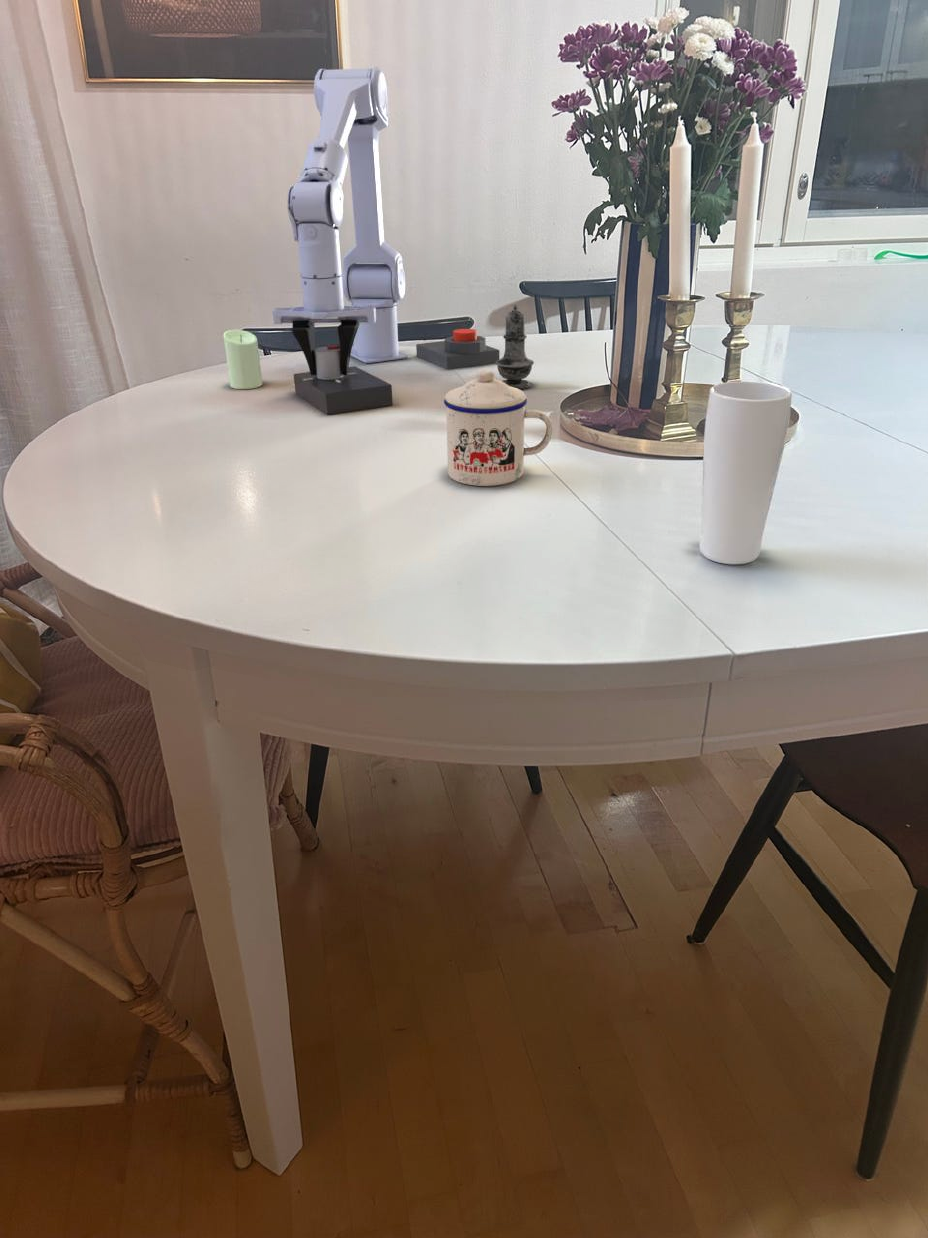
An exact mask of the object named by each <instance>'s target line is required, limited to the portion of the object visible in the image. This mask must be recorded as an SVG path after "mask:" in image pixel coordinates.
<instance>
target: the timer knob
mask: <svg viewBox="0 0 928 1238" xmlns="http://www.w3.org/2000/svg"><path fill="white" fill-rule="evenodd" d="M314 356H315V367H316V377H317V378H318V379H321V380H334V379H340V378H342V377H343V376H344V375H342V371H341V349H340V344H338V345H330V346H321V347H320V346H319V347H315V349H314Z"/></svg>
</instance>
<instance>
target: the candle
mask: <svg viewBox="0 0 928 1238" xmlns="http://www.w3.org/2000/svg"><path fill="white" fill-rule="evenodd" d="M222 335H223V344H224V350H225V351H224V352H225V358H226V366H227V373H228V381H229V387H231V389H234V390H252V389H256V388H260V387H261V386H262V385H263V378H262V367H261V361H260V359H261V358H260V351H259V343H258V338H257V335H255V334H254V333H252V332H250V331H247V330H241V329H229V330H226V331H224V333H223V334H222Z"/></svg>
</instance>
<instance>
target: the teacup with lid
mask: <svg viewBox="0 0 928 1238" xmlns="http://www.w3.org/2000/svg"><path fill="white" fill-rule="evenodd" d="M495 375H496V374H495V372H494V371H493V370H492V369H480V370H478V371H477V372H476V373H475V379H472V380H468V381H467V382H466V383H464V384H463V385H462V386H459V387H455V388H453V389H450V390H449V391H448V392H447V393H446V394H445V396H444V399H443V404H444V406H445V407H446V409H445V411H446V412H445V413H446V453H447V454H446V455H447V456H446V457H447V474H448V476H449V477H450V478H451V479H452V480H454V482H455V481H456V482H457V483H460V484H464V485H469V486H475V487H476V486H478V487H494V486H502V485H506V484H511V483H512V482H515V481H517V480H519V479H521V477H522V476H523V474H524V462H525V461H524V459H525V458H524V457H525V456H533V455H537V454H539V453H541V452H542V451H544V450H545V449H546V448H547V446H548V445H549V443H550V442H551V439H552V436H553V429H554V428H553V427H554V426H553V422H552V420H551V418H550V417H549V416H548V415H547V414H546V413H545V412H543V411H541V410H535V409H529V410H528V409H526V410H525V406H526V405H527V403H528V400H527V396H526V393H524V391H523V390H522V389H521V390H519V389H517V388H514V387H511V386H508V385H507V384H505V383H504V382H502V381H503V380H500V379H496V378H495ZM525 419H539V420H541V421H542V422H543V423H544V424H545V426H546V431H545V434H544V435H543V438H542V440H541V441H540V442H539V443H538V444H536V445H534V446H530V447H525Z"/></svg>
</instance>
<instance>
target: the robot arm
mask: <svg viewBox="0 0 928 1238" xmlns="http://www.w3.org/2000/svg"><path fill="white" fill-rule="evenodd" d="M313 81H314V82H313V94H314V101H315V105H316V108H317V110H318V112H319V115H320V123H319V124H320V125H319V129H318V130H319V131H318V137H317V138H316V139H314V140H313V141H311V142H310V144H309V145H308V147H307V151H306V154H305V157H304V162H303V165H302V168H301V173H300V176H299V181H296V182H295V183H294V184H293V185H291V186H290V187H289V189H288V191H287V214H288V218H289V221H290V224H291V228H292V235H293V239H294V241H295V242H296V243H297V247H298V248H297V250H298V259H299V260H298V261H299V270H300V282H301V290H302V291H301V292H302V303H303V304H302V305H303V306H293V307H291V306H290V307H275V308H274V309H273V310H272V317H273V319H272V320H273V325H282V324H292V328H291V332H292V335H293V337H294V338H295V339H296V341H297V344H298V345H299V346H300V348H301V350H302V353H303V355H304V358H305V360H306V364H307V367H308V369H309V372H310V374H311V375H316V367H315V356H314V349H316V335H315V334H316V331H315V330H316V329H315V328H316V327H315V324H339V323H340V324H339V325H338V326H337V335H338V340H339V345H340V349H341V371H342V375H347V374H348V372H349V367H350V358H351V357H352V358H354V359H356V360H358V361H360V362H363V363H365V364H373V363H379V362H389V361H395V360H403V359H408V355H407V354H406V353H402V352H400V351H399V333H398V332H399V331H398V330H399V329H398V328H399V327H398V311H397V308H398V307H397V305H398V304H399V303H402V300H403V299H404V297H405V293H406V274H405V273H406V272H405V270H404V265H403V257H402V255H401V253H400V252H399V251H397V250H396V249H395V248H393V247H392V246H391V245H390V244H388V243H387V242H386V241H385V231H384V230H385V229H384V215H383V214H384V213H383V200H382V199H383V197H382V184H381V169H380V153H379V152H380V151H379V137H380V131H381V130H383V129H386V128H388V126H389V103H388V102H389V101H388V99H389V98H388V85H387V82H386V78H385V75H384V73H383V71H382V70H381V69H380V68H379V66H374V67H372V68H343V69H342V68H340V69H339V68H338V69H337V68H336V69H326V68H320V69H318V70H317V73H316V74H315V76H314V80H313ZM346 143H347V148H348V149H347V150H348V154H347V152H346V150H345V146H346ZM348 164H349V173H350V186H351V199H352V210H353V223H354V236H355V245H353V246H352V248H351V249H349V250H348V251H347V252H346V253H345V254H344V256H343V257H342V258H341V247H340V246H341V245H340V232H339V230H340V229H339V228H340V227H341V225H342V222H343V219H344V196H345V195H344V191H343V184H344V181H345V177H346V173H347V168H348ZM344 298H345V299H346V300H347V301H348V302H349V303H350V305H345V299H344Z"/></svg>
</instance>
